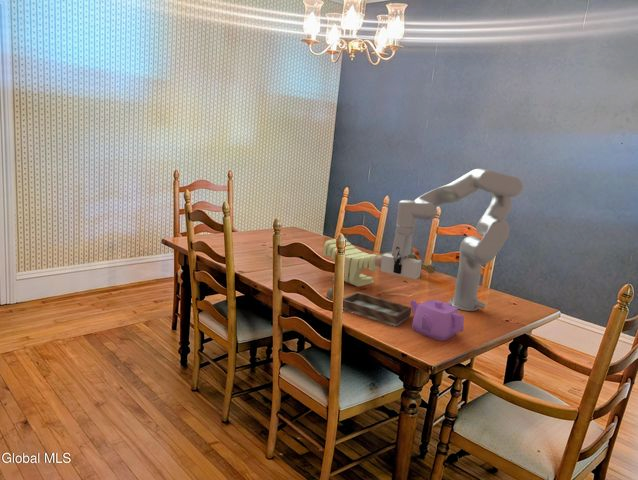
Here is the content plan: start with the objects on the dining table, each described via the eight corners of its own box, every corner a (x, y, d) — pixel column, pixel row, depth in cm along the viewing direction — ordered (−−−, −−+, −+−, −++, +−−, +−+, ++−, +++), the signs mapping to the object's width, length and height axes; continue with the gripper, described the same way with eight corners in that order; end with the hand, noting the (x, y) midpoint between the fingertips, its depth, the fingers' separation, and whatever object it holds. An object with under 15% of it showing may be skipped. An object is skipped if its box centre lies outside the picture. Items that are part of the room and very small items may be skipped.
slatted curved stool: (320, 275, 238) (324, 240, 235) (341, 270, 250) (344, 237, 246) (368, 292, 219) (373, 255, 215) (388, 286, 231) (393, 251, 227)
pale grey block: (419, 276, 202) (421, 260, 201) (415, 279, 198) (417, 262, 197) (379, 267, 212) (380, 252, 210) (374, 269, 208) (375, 253, 206)
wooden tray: (409, 316, 194) (411, 307, 193) (395, 326, 183) (396, 316, 182) (356, 300, 207) (357, 291, 206) (339, 308, 196) (340, 299, 195)
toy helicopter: (407, 269, 266) (410, 245, 263) (437, 280, 250) (441, 254, 247) (397, 270, 261) (400, 246, 258) (427, 282, 245) (431, 256, 242)
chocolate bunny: (329, 301, 203) (332, 279, 201) (324, 295, 210) (326, 273, 208) (342, 301, 205) (344, 279, 202) (336, 295, 212) (339, 273, 210)
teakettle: (463, 343, 174) (469, 311, 171) (418, 340, 172) (423, 308, 170) (448, 324, 190) (452, 295, 188) (406, 322, 189) (410, 292, 186)
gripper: (404, 225, 209) (399, 266, 213) (387, 231, 195) (383, 273, 199) (420, 228, 205) (415, 269, 209) (404, 234, 191) (399, 277, 195)
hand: (399, 271), depth 204 cm, fingers closed on pale grey block, 5 cm apart
